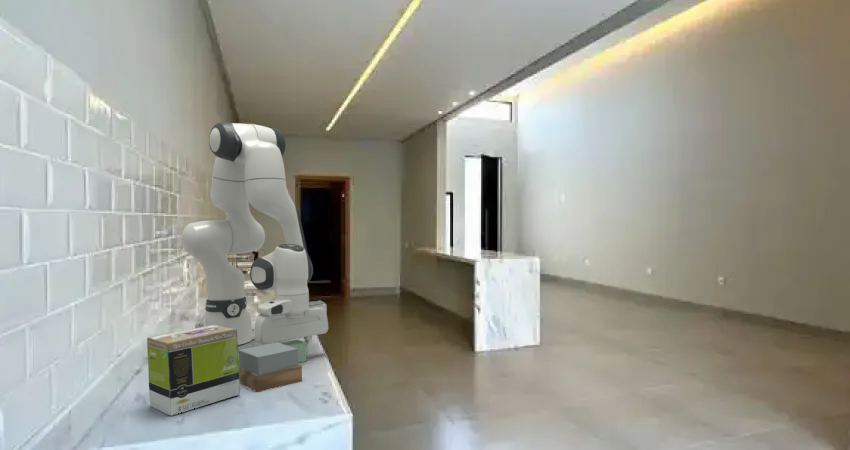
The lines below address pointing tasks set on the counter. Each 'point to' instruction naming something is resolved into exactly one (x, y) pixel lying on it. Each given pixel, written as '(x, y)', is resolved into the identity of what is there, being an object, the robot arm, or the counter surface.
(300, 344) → the sage cube
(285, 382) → the walnut slab
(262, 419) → the counter surface
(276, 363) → the slate slab
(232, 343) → the tea box
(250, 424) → the counter surface
